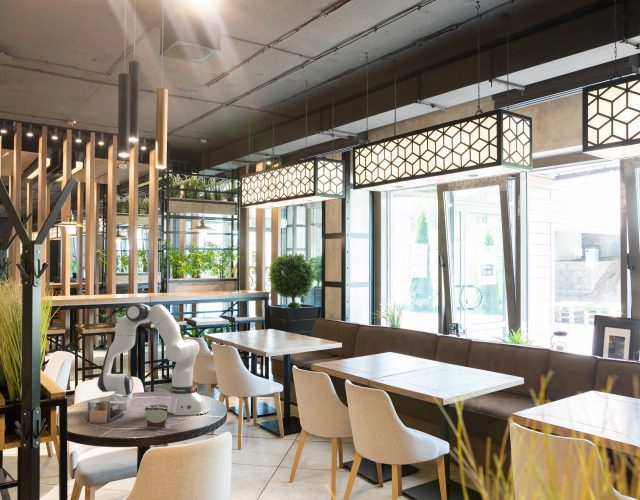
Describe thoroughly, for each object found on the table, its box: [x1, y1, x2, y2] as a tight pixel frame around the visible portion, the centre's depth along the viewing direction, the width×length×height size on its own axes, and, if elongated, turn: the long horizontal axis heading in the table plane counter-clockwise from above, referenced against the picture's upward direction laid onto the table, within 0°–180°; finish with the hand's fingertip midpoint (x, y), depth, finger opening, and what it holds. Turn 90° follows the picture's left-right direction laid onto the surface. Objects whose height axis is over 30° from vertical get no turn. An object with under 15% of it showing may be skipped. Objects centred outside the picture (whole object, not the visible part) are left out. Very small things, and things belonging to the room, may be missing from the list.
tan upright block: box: [95, 401, 110, 410], centre depth 286 cm, size 5×5×9 cm
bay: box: [86, 401, 125, 424], centre depth 290 cm, size 12×17×10 cm
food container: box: [144, 403, 169, 429], centre depth 277 cm, size 12×6×10 cm, turn 84°
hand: (103, 408), depth 286 cm, fingers open, 8 cm apart
